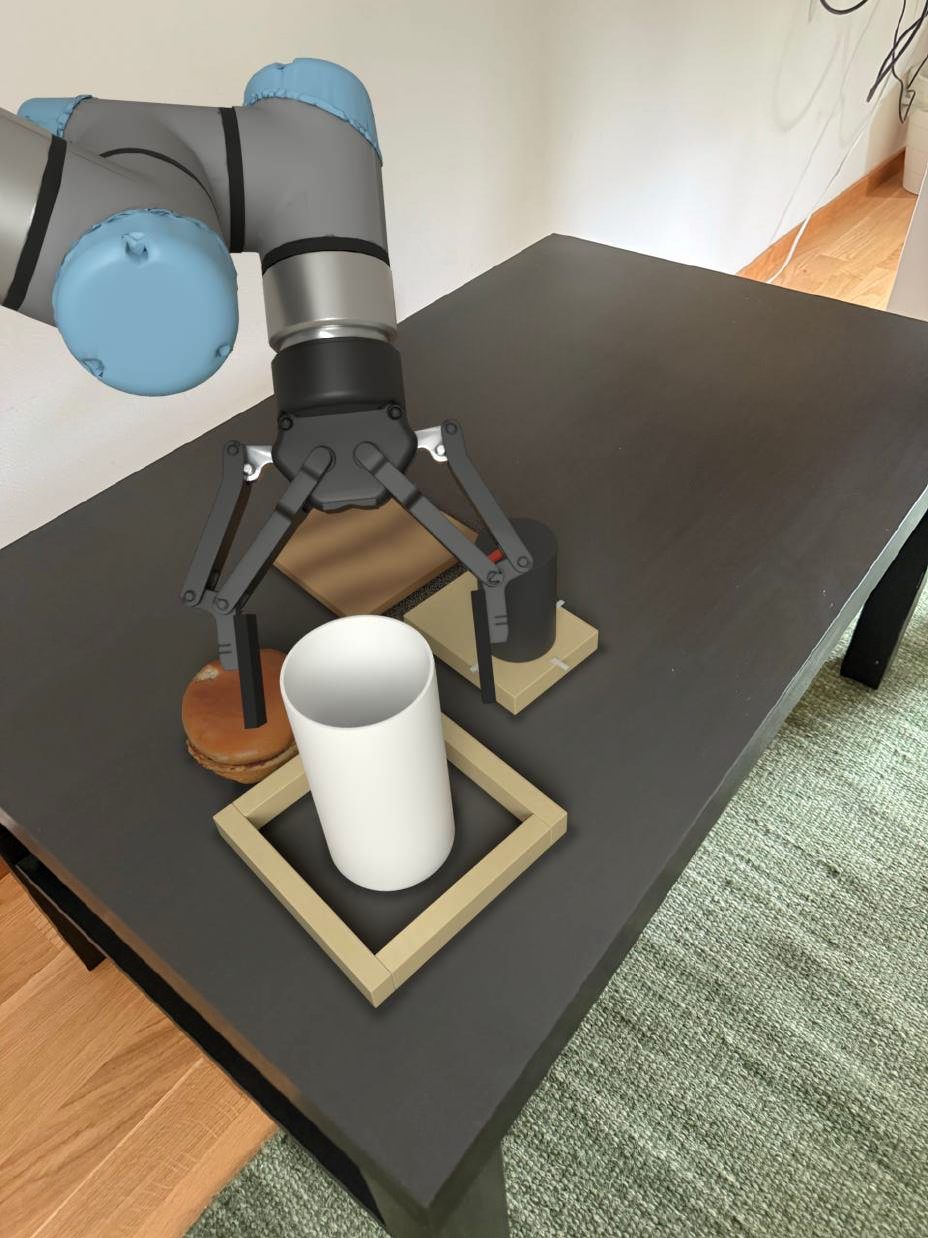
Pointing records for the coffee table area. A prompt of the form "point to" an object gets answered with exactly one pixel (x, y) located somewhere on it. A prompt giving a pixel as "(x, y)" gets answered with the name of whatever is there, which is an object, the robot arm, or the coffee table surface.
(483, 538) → the burner knob
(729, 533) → the coffee table surface
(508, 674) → the panel
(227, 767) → the burger
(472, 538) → the trivet
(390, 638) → the cup
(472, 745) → the square frame
